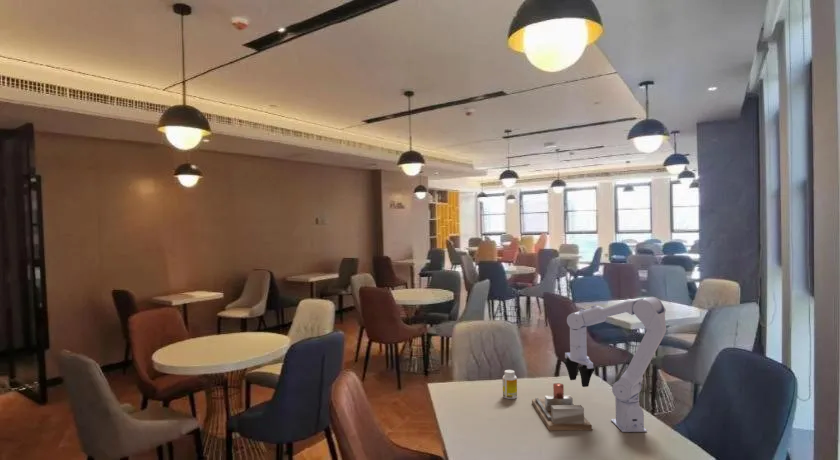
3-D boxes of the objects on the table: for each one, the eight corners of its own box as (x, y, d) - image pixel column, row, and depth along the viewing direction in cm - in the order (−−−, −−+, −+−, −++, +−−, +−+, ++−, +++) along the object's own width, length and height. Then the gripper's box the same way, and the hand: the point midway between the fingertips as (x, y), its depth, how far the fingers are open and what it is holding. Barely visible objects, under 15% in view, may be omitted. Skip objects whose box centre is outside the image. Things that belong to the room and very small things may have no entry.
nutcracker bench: (591, 429, 154) (591, 410, 154) (549, 430, 154) (548, 410, 154) (568, 402, 178) (568, 385, 178) (531, 403, 178) (531, 386, 178)
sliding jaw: (573, 411, 165) (572, 386, 165) (547, 411, 165) (547, 386, 165) (569, 407, 169) (569, 382, 169) (544, 407, 169) (544, 383, 169)
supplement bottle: (520, 397, 185) (519, 371, 185) (510, 400, 181) (510, 374, 181) (509, 393, 189) (508, 368, 189) (499, 396, 185) (499, 371, 185)
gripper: (600, 349, 163) (601, 388, 163) (576, 339, 177) (577, 375, 177) (582, 351, 161) (583, 390, 161) (559, 341, 175) (560, 377, 175)
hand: (579, 383), depth 169 cm, fingers open, 7 cm apart
